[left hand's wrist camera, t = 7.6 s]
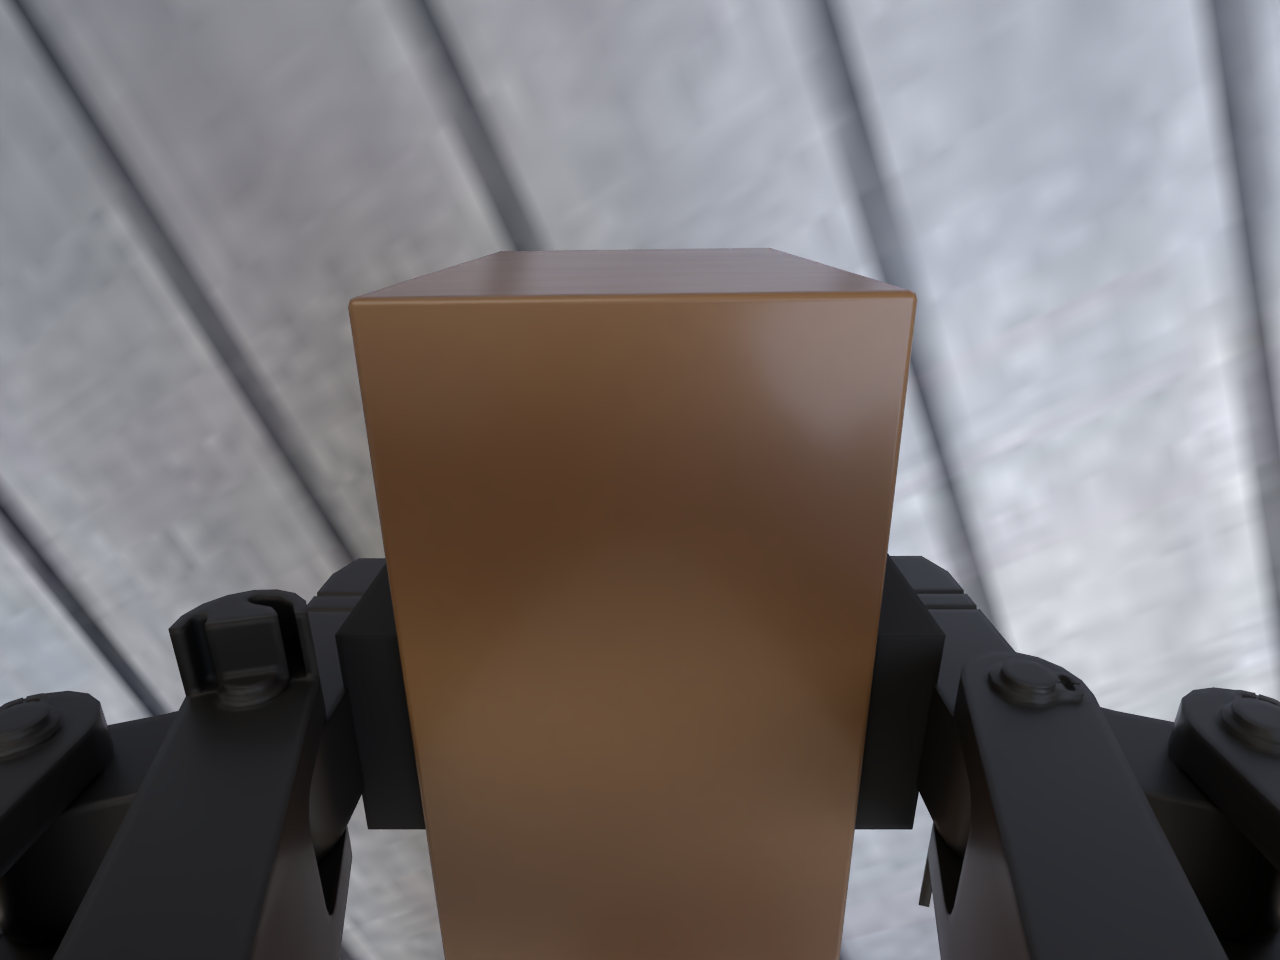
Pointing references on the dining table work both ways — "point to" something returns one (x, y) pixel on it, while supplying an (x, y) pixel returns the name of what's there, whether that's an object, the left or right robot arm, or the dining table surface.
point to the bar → (637, 588)
